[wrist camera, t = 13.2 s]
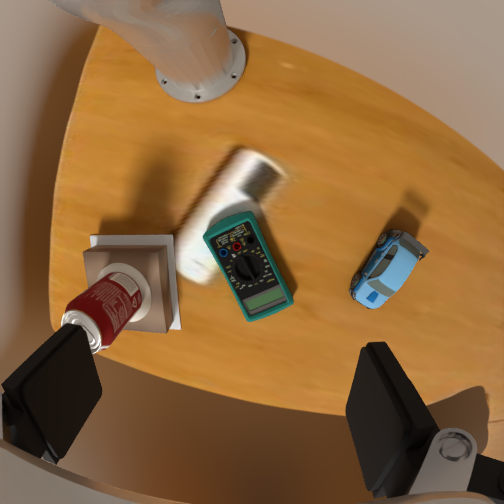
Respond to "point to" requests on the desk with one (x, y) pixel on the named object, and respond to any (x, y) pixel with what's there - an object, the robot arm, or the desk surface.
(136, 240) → the white square slab
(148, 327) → the plinth
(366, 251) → the desk surface
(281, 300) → the digital multimeter
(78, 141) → the desk surface
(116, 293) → the soda can
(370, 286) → the toy car
